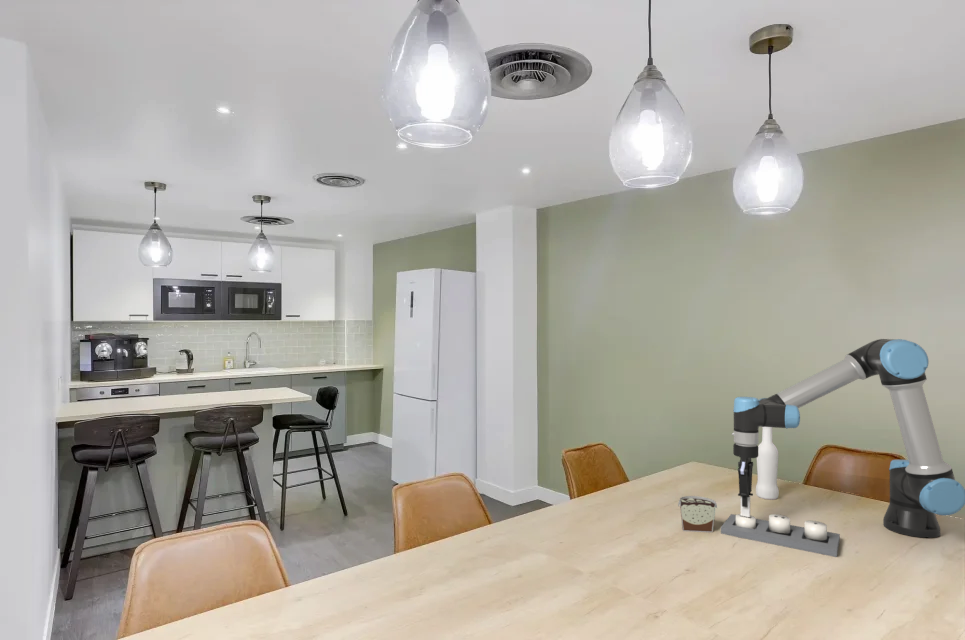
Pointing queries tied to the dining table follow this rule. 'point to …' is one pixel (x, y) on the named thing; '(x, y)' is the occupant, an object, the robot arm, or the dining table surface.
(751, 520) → the three dot button
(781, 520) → the two dot button
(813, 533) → the one dot button
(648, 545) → the dining table surface
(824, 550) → the button board
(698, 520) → the food container
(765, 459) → the bottle
